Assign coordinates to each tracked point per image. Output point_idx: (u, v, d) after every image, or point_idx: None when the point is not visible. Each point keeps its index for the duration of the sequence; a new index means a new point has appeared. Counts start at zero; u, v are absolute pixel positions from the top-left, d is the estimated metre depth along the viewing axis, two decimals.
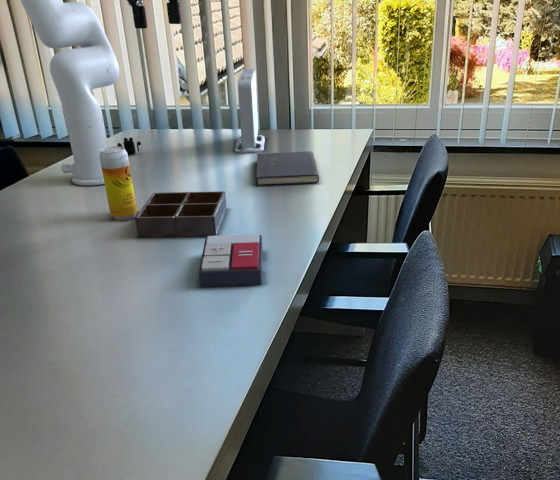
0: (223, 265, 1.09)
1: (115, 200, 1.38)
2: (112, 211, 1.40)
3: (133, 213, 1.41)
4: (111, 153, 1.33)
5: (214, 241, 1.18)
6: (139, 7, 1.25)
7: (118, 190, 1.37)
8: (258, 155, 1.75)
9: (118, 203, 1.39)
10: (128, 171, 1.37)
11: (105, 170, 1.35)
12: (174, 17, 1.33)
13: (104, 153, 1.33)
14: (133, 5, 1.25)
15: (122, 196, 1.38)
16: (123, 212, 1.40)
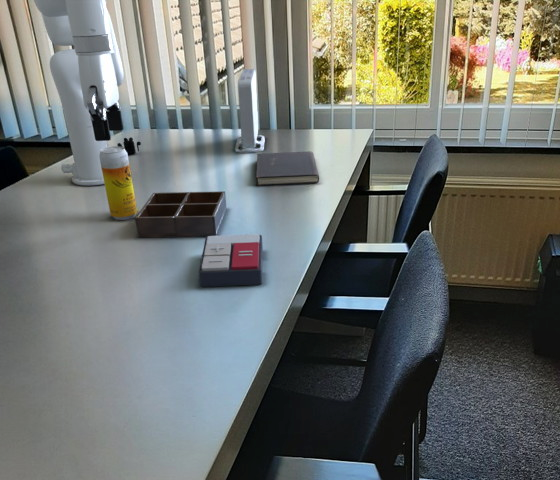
0: (223, 265, 1.09)
1: (115, 200, 1.38)
2: (112, 211, 1.40)
3: (133, 213, 1.41)
4: (111, 153, 1.33)
5: (214, 241, 1.18)
6: (103, 121, 1.26)
7: (118, 190, 1.37)
8: (258, 155, 1.75)
9: (118, 203, 1.39)
10: (128, 171, 1.37)
11: (104, 170, 1.35)
12: (117, 124, 1.36)
13: (104, 153, 1.33)
14: (97, 120, 1.26)
15: (122, 196, 1.38)
16: (123, 212, 1.40)
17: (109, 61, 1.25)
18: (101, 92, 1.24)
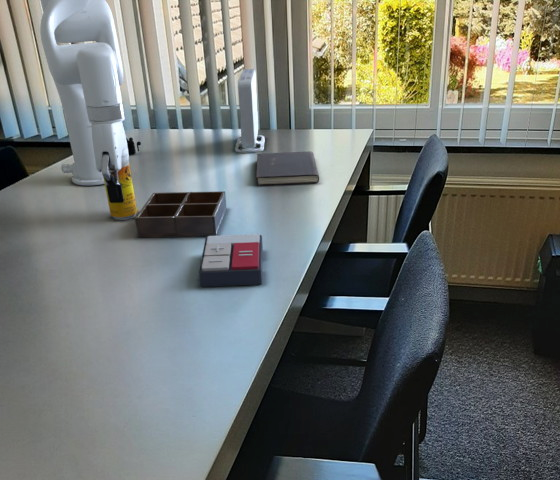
0: (223, 265, 1.09)
1: None
2: (112, 211, 1.40)
3: (133, 213, 1.41)
4: None
5: (214, 241, 1.18)
6: (117, 185, 1.35)
7: None
8: (258, 155, 1.75)
9: (118, 203, 1.39)
10: (128, 171, 1.37)
11: None
12: None
13: None
14: (111, 185, 1.35)
15: None
16: (123, 212, 1.40)
17: (120, 127, 1.33)
18: (113, 157, 1.31)
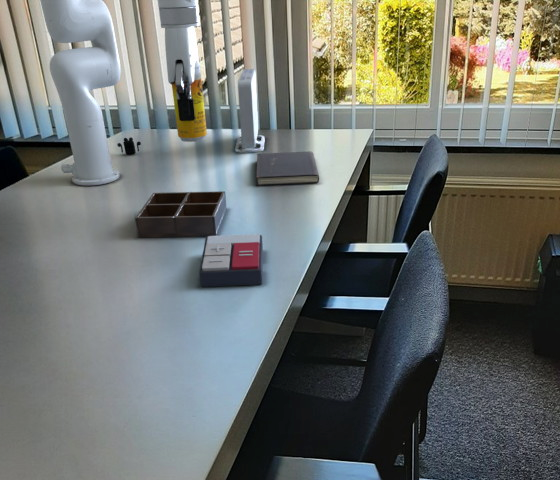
0: (223, 265, 1.09)
1: None
2: (181, 131, 1.29)
3: (203, 134, 1.30)
4: None
5: (214, 241, 1.18)
6: (189, 101, 1.24)
7: None
8: (258, 155, 1.75)
9: (188, 122, 1.27)
10: (200, 86, 1.25)
11: None
12: None
13: None
14: (183, 99, 1.23)
15: None
16: (193, 133, 1.28)
17: (194, 34, 1.21)
18: (187, 67, 1.20)
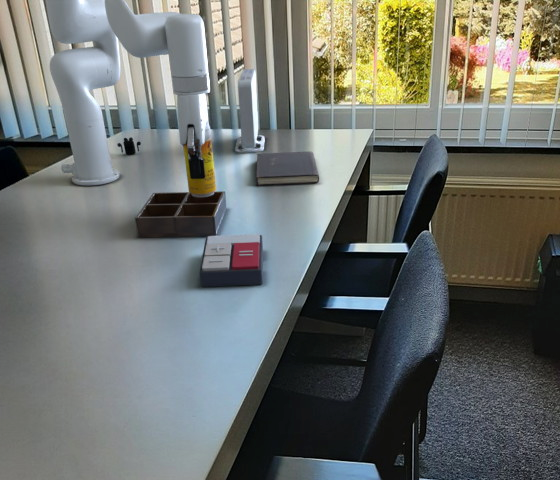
0: (224, 265, 1.09)
1: None
2: (191, 188, 1.35)
3: (213, 190, 1.36)
4: None
5: (214, 241, 1.18)
6: (199, 161, 1.30)
7: None
8: (258, 155, 1.75)
9: (198, 180, 1.34)
10: (210, 146, 1.32)
11: None
12: None
13: None
14: (194, 160, 1.30)
15: None
16: (203, 189, 1.35)
17: (205, 99, 1.28)
18: (198, 130, 1.26)
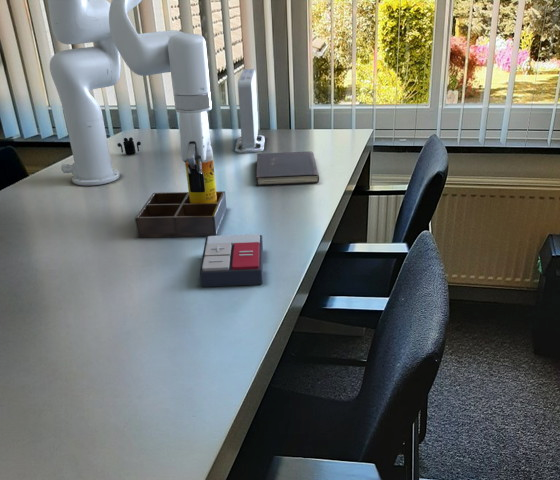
0: (224, 265, 1.09)
1: (198, 195, 1.36)
2: None
3: None
4: None
5: (214, 241, 1.18)
6: (199, 174, 1.31)
7: None
8: (258, 155, 1.75)
9: (200, 199, 1.36)
10: (212, 166, 1.34)
11: None
12: None
13: None
14: (194, 174, 1.30)
15: (205, 192, 1.35)
16: None
17: (206, 116, 1.30)
18: (200, 147, 1.28)
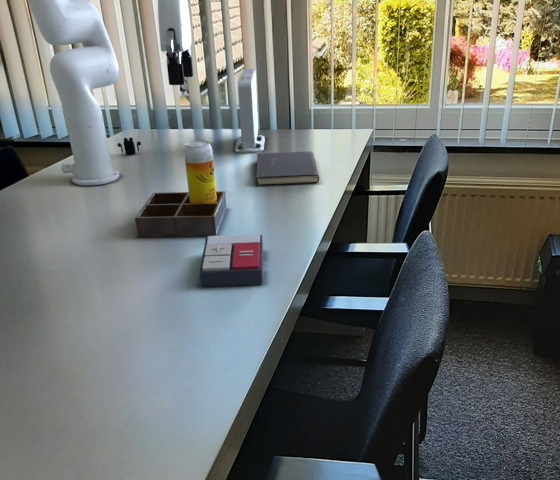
0: (224, 265, 1.09)
1: (198, 195, 1.36)
2: None
3: None
4: (197, 147, 1.30)
5: (214, 241, 1.18)
6: (178, 65, 1.28)
7: (202, 185, 1.34)
8: (258, 155, 1.75)
9: (200, 199, 1.36)
10: (212, 166, 1.34)
11: (189, 164, 1.32)
12: (187, 71, 1.38)
13: (190, 147, 1.30)
14: (173, 63, 1.28)
15: (205, 192, 1.35)
16: None
17: (186, 5, 1.27)
18: (178, 35, 1.25)
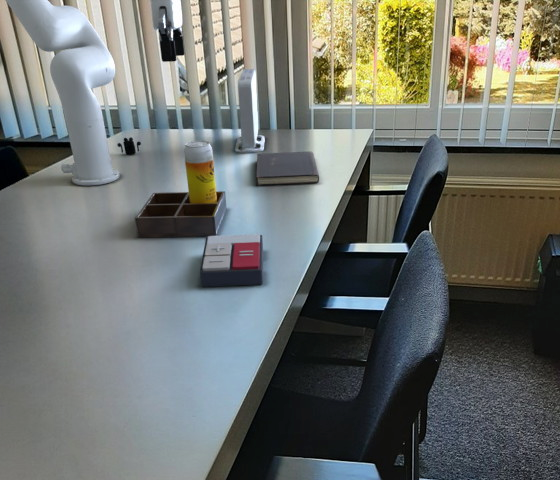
0: (224, 265, 1.09)
1: (198, 195, 1.36)
2: None
3: None
4: (197, 147, 1.30)
5: (214, 241, 1.18)
6: (170, 42, 1.34)
7: (202, 185, 1.34)
8: (258, 155, 1.75)
9: (200, 199, 1.36)
10: (212, 166, 1.34)
11: (189, 164, 1.32)
12: (179, 49, 1.43)
13: (190, 147, 1.30)
14: (165, 40, 1.33)
15: (205, 192, 1.35)
16: None
17: None
18: (170, 13, 1.31)
